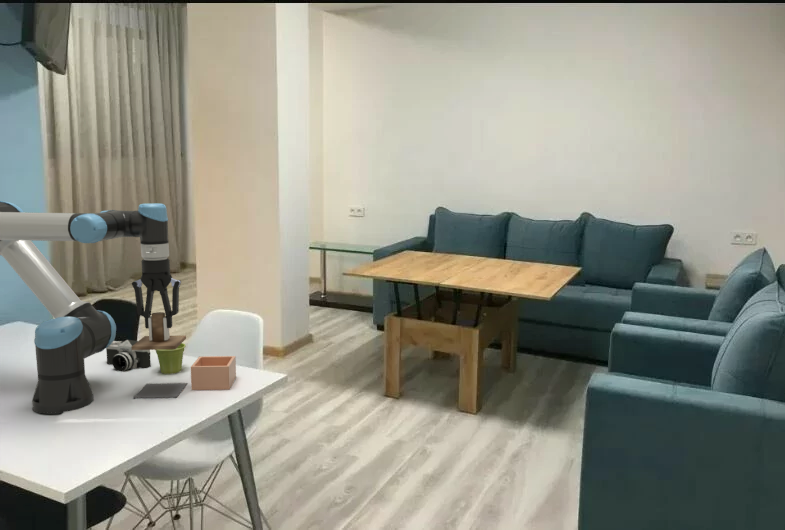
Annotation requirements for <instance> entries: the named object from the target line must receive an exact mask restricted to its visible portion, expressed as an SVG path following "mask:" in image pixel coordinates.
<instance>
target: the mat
mask: <svg viewBox="0 0 785 530" xmlns="http://www.w3.org/2000/svg"><path fill="white" fill-rule="evenodd" d="M187 385H188V383H187V382H178V383H176V382H175V383H173V382H170V383H169V382H166V383H164V382H163V383H154V382H153V383H145V385H144V386H143V387H142V388H141V389H140V390H139V391H138V392H137V393H136V394H135V395H134V396H133V399H174V398H175V399H176V398H178V397H179V396H180V394H181V393H182V392H183V391H184V389H185V388H186V387H187Z"/></svg>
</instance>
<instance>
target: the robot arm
mask: <svg viewBox="0 0 785 530" xmlns="http://www.w3.org/2000/svg"><path fill="white" fill-rule="evenodd" d="M167 211H168V209H167V207H166V205H165V204H164V203H155V202H154V203H153V202H152V203H141V204H139V205H138V208H137V210H116V209H108V210H102V211H100V212H93V213H92V212H91V213H90V212H89V213H87V212H79V213H78V212H76V213H75V212H72V213H71V212H70V213H69V212H25V211H24V210H23V209H22V208H21V207H20V206H18V205H17V204H15V203H13V202H10V201H2V200H0V256H2V257H3V258H4V260H5V261H6V262H7V263H8V265H9V266H11V268H12V270H14V272H15V273H16V274H17V275H18V276H19V278H20V279H21V280H22V281H23V282H24V283H25V285H26V286H27V288H29V290H31V292H32V293H33V294H34V295H35V296H36V298H37V300H39V301H40V303H41V304H42V305H43V306H44V307H45V308H46V310H47V311H48V312H49V314H50V315H51V316H52V317H53V318H50V319H47V320H45V321H43V322H40V323H39V324H38V325H37V326H36V328H35V330H34V341H33V342H34V346H35V356H36V359H35V360H36V369H37V370H36V372H37V384H36V387H35V388H34V393H33V397H32V401H31V405H32V410H33V411H34V412H36V413H38V414H45V415H47V414H49V415H50V414H51V415H53V414H54V415H57V414H63V413H66V412H72V411H76V410H79V409H82V408H85V407H87V406H89V405H91V404H92V403H93V402H94V401H95V400H94V393H93V389H92V387H91V385H90V383H89V381H88V379H87V375H86V369H85V366H86V365H85V359H87V358H89V357H91V356H93V355H96V354H99V353H101V352H103V351H104V350H106V348H107V347H108V346H110V345H111V344H112V342H113V341H115V338H116V335H117V334H116V333H117V332H116V331H117V325H116V323H115V320H114V318H113V317H112V316H111V314H109V313H108V312H106V311H104V310H99V309H98V310H97V309H96V308H95V307H94V306H93V305H92V303H91V302H90V301H85V300H81V299H80V298H79V296H78V295H77V294H76V293H75V292H74V290H73V289H72V288H71V287H70V285H69V284H68V282H66V281H65V280H64V278H63V277H62V276H61V275H60V273H59V272H58V271H57V269H55V268H54V266H53V265H52V264H51V263H50V261H48V259H47V258H46V256H45V255H44V254H43V253H42V252H41V251H40V250H39V249H38V247H37V246H36V245H35V243H33V241H42V242H45V241H46V242H49V241H50V242H79V243H82V244H95V243H98V242H102V241H107V240H108V241H109V240H113V239H119V238H139V241H140V254H141V255H140V256H141V258H142V260H141V261H140V262H141V272H142V273H141V276H140V279H137V280H134V281H132V282H131V286H132V288H133V290H134V295H135V302H136V303H135V304H136V311H137V312H136V313H137V315H138V316H139V317H143V318H144V327H145V329H148V336H149V341H151V340H153V333H152V310H153V309H152V308H153V301H154V294H155V292H159V294H160V296H161V301H162V305H163V310H164V313H165V317H164V318H163V323H164V340H168V339H169V338H170V336H171V335H170V329H172V327H173V316H176V315H177V314H178V313H179V310H180V309H179V308H180V307H179V305H180V286H181V284H182V280H181V279H176V278H173V276H172V274H171V265H170V264H171V262H170V259H169V258H168V257H170V247H169V246H170V245H169V224H168V223H169V222H168V221H169V218H168V212H167ZM170 283H171V287H172V290H171V291H172V295H171V297H172V302H170V298H169V293H168V292H169V291H168V286H169V285H170ZM143 285H144V286H145V288H146V297H145V305H144V297H143V289H142V287H143ZM171 303H172V304H171ZM144 306H145V307H144Z"/></svg>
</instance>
